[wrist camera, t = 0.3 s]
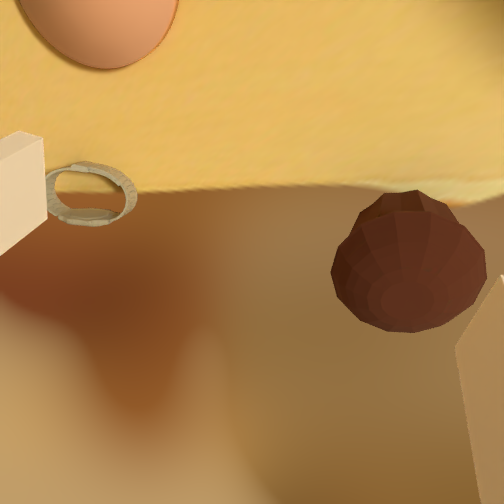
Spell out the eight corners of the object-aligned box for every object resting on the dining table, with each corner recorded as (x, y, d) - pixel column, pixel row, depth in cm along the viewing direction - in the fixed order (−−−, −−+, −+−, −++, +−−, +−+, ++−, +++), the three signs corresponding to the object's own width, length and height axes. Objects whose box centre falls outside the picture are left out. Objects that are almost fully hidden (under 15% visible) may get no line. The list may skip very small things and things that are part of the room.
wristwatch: (64, 207, 51) (35, 229, 47) (52, 150, 47) (20, 169, 43) (143, 218, 49) (121, 243, 45) (137, 161, 46) (112, 182, 42)
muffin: (447, 154, 38) (464, 209, 30) (492, 261, 42) (517, 335, 34) (316, 208, 44) (300, 268, 35) (367, 299, 47) (363, 371, 39)
